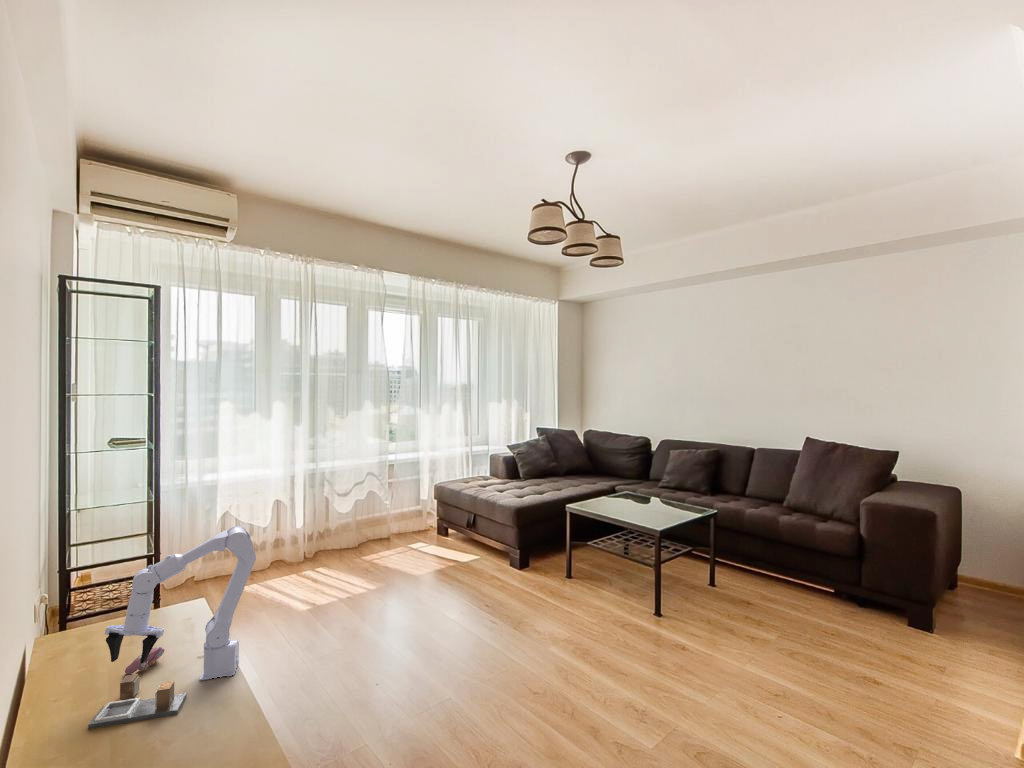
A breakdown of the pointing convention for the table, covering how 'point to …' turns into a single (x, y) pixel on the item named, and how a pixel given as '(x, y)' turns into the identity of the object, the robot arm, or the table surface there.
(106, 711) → the grey holder base
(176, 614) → the table surface
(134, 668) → the video game controller
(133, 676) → the wooden block
